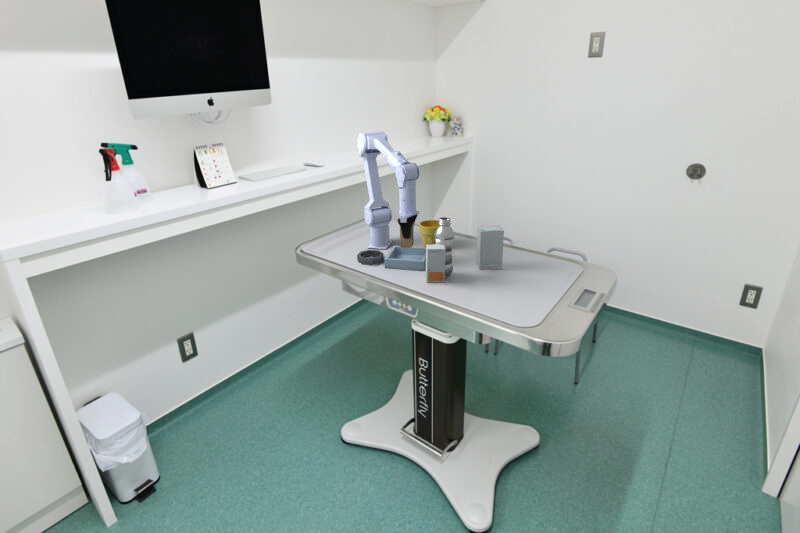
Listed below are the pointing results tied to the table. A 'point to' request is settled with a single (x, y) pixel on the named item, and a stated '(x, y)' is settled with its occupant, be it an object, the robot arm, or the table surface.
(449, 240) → the silver metal bottle
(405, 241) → the peg
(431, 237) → the plant pot
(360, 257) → the collar
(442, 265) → the skincare box
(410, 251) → the bin
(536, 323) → the table surface
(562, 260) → the table surface
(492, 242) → the skincare box
